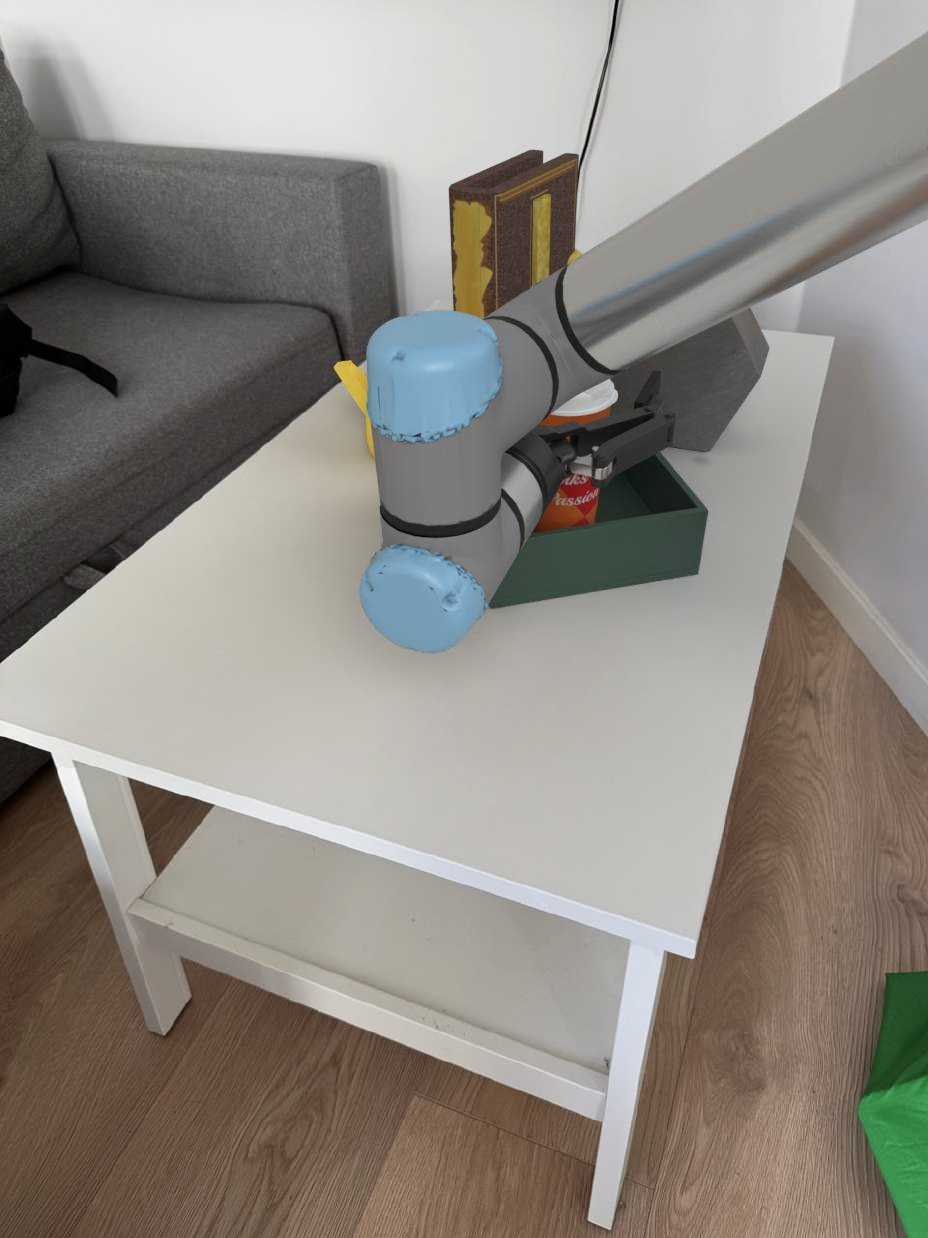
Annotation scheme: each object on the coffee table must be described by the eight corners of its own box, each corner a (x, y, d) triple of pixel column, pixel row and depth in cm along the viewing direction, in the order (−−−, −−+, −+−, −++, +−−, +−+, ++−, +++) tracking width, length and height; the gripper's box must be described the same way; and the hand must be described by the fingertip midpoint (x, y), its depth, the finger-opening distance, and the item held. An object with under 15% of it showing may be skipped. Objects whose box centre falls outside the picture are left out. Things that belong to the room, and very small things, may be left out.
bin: (698, 574, 83) (708, 510, 78) (490, 609, 80) (489, 544, 75) (622, 470, 97) (627, 412, 93) (444, 497, 94) (441, 437, 90)
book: (505, 426, 106) (504, 196, 91) (443, 411, 110) (432, 187, 94) (587, 358, 121) (598, 149, 105) (530, 346, 124) (533, 143, 109)
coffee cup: (512, 545, 86) (512, 396, 76) (528, 499, 92) (530, 356, 83) (601, 554, 84) (613, 403, 75) (612, 508, 90) (623, 362, 81)
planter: (791, 390, 100) (707, 217, 93) (783, 421, 95) (693, 239, 87) (654, 448, 110) (569, 296, 103) (640, 478, 105) (549, 320, 97)
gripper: (350, 507, 73) (453, 396, 88) (662, 567, 65) (715, 434, 80) (338, 420, 68) (449, 319, 83) (673, 473, 60) (728, 351, 75)
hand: (580, 375), depth 82 cm, fingers open, 13 cm apart
